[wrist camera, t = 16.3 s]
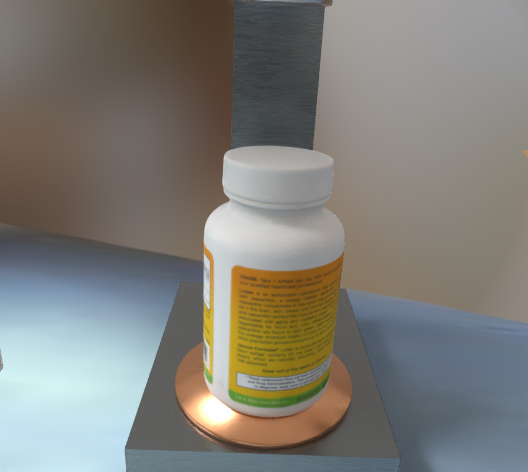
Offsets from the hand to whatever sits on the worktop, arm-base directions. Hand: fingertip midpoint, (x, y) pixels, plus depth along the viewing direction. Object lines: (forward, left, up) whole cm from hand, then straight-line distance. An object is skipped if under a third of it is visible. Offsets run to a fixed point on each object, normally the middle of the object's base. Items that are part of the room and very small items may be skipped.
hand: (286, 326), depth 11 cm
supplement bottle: (-7, +3, -8) cm, 11 cm away
